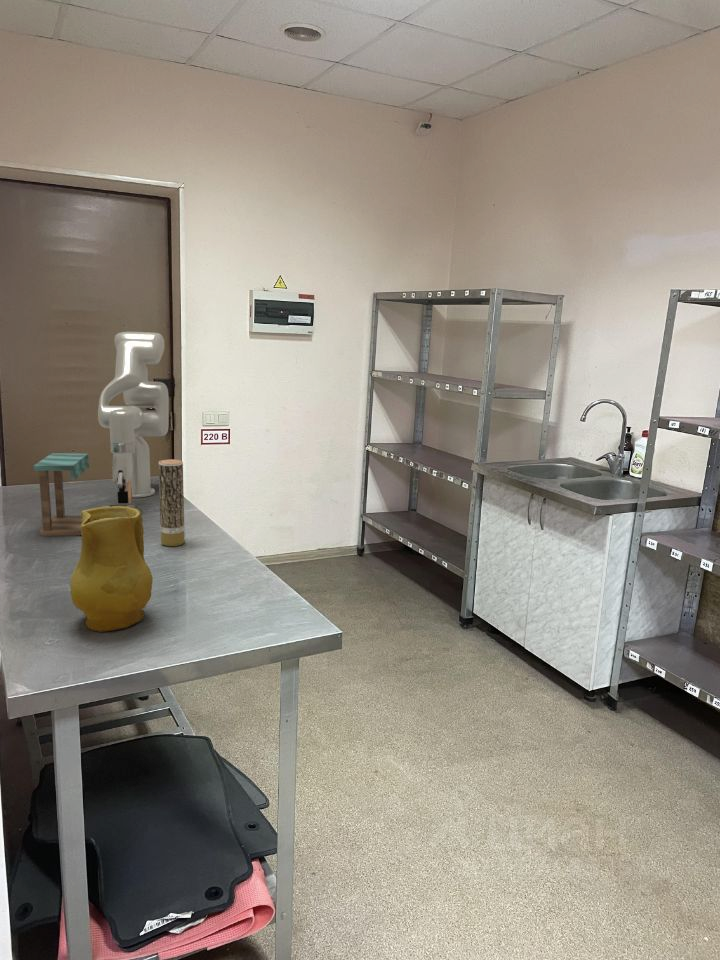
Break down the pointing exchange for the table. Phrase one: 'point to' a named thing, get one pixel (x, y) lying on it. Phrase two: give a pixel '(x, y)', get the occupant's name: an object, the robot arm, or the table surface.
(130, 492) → the peg
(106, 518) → the pitcher
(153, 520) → the table surface
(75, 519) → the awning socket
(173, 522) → the paper tube
